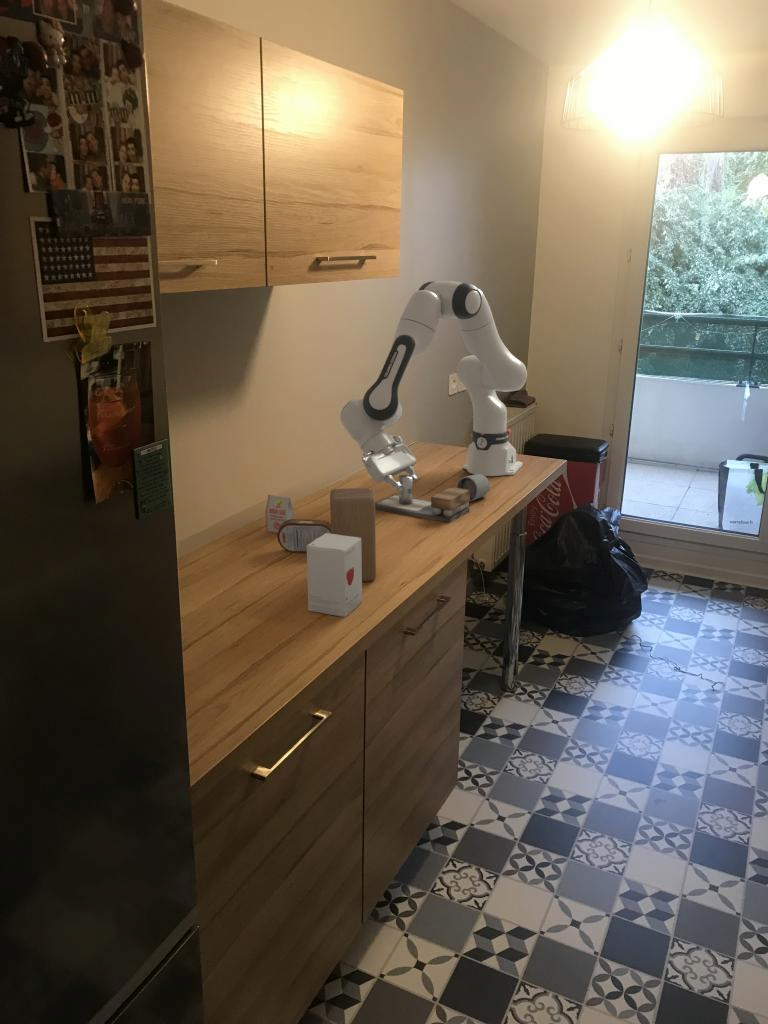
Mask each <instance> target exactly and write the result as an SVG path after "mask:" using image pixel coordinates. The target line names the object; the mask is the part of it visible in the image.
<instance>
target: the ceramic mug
mask: <svg viewBox="0 0 768 1024" xmlns="http://www.w3.org/2000/svg"><path fill="white" fill-rule="evenodd" d="M490 486H491V484H490V480H489V479H488V478H487V476H483V475H480V474H472V475H471V474H470V475H467V476H466V475H465V476H463V477H461V478H460V479H459V480H458V481H457V483H456V488H462V489H468V490H470V500H468V502H469V503H470V502H473V501H476V500H479V499H480V498H483V497H485V496H486V495H487V494H488V493H489V492H490V488H491V487H490Z"/></svg>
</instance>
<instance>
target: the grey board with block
mask: <svg viewBox="0 0 768 1024" xmlns="http://www.w3.org/2000/svg"><path fill="white" fill-rule="evenodd" d="M468 500H470V490H468V489H462V488H457V487H454V486H450V487H449V488H447V489H444V490H442V491H441V492H439V493H437V494H435V495H433V496H431V500H427V499H420V498H414V497H413V503H412V504H409V505H402V504H399V494H398V495H396V494H392V495H389V496H388V497H385V498H384V499H381V500H379V501H375V510H378V511H383V512H388V513H394V514H395V513H396V514H399V515H404V514H405V516H410V515H411V516H410V517H415V516H416V518H421V517H422V518H423V519H426V518H428V520H432V519H434V520H433V521H437V520H440V521H439V522H443V521H446V522H445V523H448V522H450V523H452V522H454V521H456V520H457V519H459V518H461V517H463V516H464V515H466V514H468V513H469V512H470V507H469V506H470V502H468ZM462 515H463V516H462ZM460 516H461V517H460ZM458 517H459V518H458ZM455 519H456V520H455ZM453 520H454V521H453ZM451 521H452V522H451Z"/></svg>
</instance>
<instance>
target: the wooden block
mask: <svg viewBox="0 0 768 1024" xmlns="http://www.w3.org/2000/svg"><path fill="white" fill-rule="evenodd" d="M375 503H376V500H375V496H374V491H373V489H372V488H370V487H364V488H362V487H361V488H334V489H332V490H330V493H329V505H330V506H329V507H330V523H331V534H337V535H343V536H351V537H358V538H361V556H362V582H373V581H375V580H376V578H377V555H376V554H377V553H376V552H377V550H376V549H377V548H376V546H377V543H376V542H377V541H376V537H377V536H376V509H375Z"/></svg>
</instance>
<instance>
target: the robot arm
mask: <svg viewBox="0 0 768 1024" xmlns="http://www.w3.org/2000/svg"><path fill="white" fill-rule="evenodd" d="M441 319H444V320H445V319H447V320H448V319H449V320H450V319H451V320H452V319H453V320H455V319H456V320H457V325H458V327H459V331H460V334H461V337H462V340H463V343H464V346H465V348H466V350H467V351H468V352H469V353H470V355H467V356H464V357H462V358H461V359H460V361H459V362H458V365H457V367H456V368H457V369H456V376H457V378H458V381H459V382H460V383H461V384H462V385H463V387H464V388H465V390H466V391H467V393H468V395H469V398H470V401H471V403H472V410H473V411H472V414H473V415H472V417H473V419H472V420H473V422H472V423H473V425H472V427H473V429H472V430H471V441H472V442H471V443H470V444H469V445H468V447H467V448H468V449H467V455H466V463H465V464H463V466H462V467H463V469H464V470H466V471H467V472H468V473H470V474H472V475H475V474H480V475H483V476H485V477H498V476H500V477H501V476H513V475H515V474H516V473H518V471H519V470H520V469H521V468H522V467H523V465H524V463H523V462H522V461H519V460H517V450H516V448H515V447H514V446H513V445H512V444H511V443H510V442H509V436H512V435H511V434H512V430H511V429H507V423H508V422H507V420H508V417H507V415H508V409H507V406H506V405H505V404H504V403H503V402H502V400H500V399H499V397H498V395H497V391H498V392H504V393H505V392H506V393H507V392H508V393H509V392H515V391H517V392H518V391H519V390H521V389H522V388H523V387H524V386H525V384H526V382H527V379H528V371H527V367H526V365H525V363H524V362H523V361H521V360H519V359H518V358H517V357H516V356H515V355H513V353H511V352H510V350H509V349H508V348H507V347H506V345H505V344H504V342H503V341H502V339H501V337H500V335H499V332H498V328H497V326H496V322H495V320H494V316H493V312H492V309H491V307H490V304H489V302H488V300H487V298H486V295H485V294H484V292H483V291H482V290H481V289H480V288H478V287H477V286H475V285H473V284H472V283H469V282H468V283H467V282H460V281H455V280H448V281H447V280H445V281H437V280H433V281H428V282H424V283H423V284H422V285H421V286H420V287H419V288H418V290H417V291H415V292H413V294H412V296H411V297H410V299H409V300H408V302H407V304H406V306H405V308H404V309H403V312H402V314H401V316H400V319H399V322H398V323H397V327H396V329H395V332H394V338H393V341H392V344H391V348H390V351H389V353H388V355H387V357H386V359H385V362H384V364H383V366H382V369H381V371H380V373H379V376H378V378H377V380H376V381H375V382H374V383H373V384H372V385H371V386H370V387H369V388H368V389H367V391H366V392H365V393H364V396H363V398H358V399H356V398H353V399H351V400H349V402H347V403H346V404H345V405H344V406H343V407H342V409H341V411H340V415H339V417H340V418H339V419H340V422H341V423H342V426H343V427H344V430H346V432H347V434H349V436H350V437H351V439H352V440H354V441H355V442H356V443H357V444H358V447H359V449H360V450H361V451H362V452H363V454H362V455H361V456H362V457H361V461H362V462H363V466H364V468H365V469H366V471H367V473H368V474H369V476H370V477H371V479H372V480H373V481H374V482H376V483H380V482H383V481H384V482H385V483H386V484H388V485H390V486H391V487H392V488H393V489H394V490H395V491H399V489H400V488H401V487H402V485H401V484H400V483H399V480H398V481H396V480H395V478H393V477H394V476H396V475H399V474H401V473H404V472H405V473H406V474H407V475H411V476H413V483H416V482H417V481H418V479H419V477H418V476H417V475H416V472H415V468H414V466H415V465H416V464H417V462H418V461H417V458H416V455H414V453H413V452H412V450H410V448H409V447H408V446H407V444H405V443H403V441H404V440H403V438H402V437H401V436H400V435H393V434H390V433H387V432H386V431H385V429H387V428H389V427H391V426H393V425H394V424H396V423H397V422H399V421H400V419H401V418H402V416H403V413H404V407H403V404H402V402H401V400H400V398H399V387H400V386H401V383H402V380H403V378H404V375H405V373H406V371H407V368H408V366H409V364H410V363H411V362H412V360H413V359H415V358H418V357H420V356H422V355H424V354H425V353H426V351H427V349H428V348H429V346H430V345H431V343H432V340H433V339H434V336H435V334H436V330H437V327H438V325H439V320H441Z"/></svg>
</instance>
